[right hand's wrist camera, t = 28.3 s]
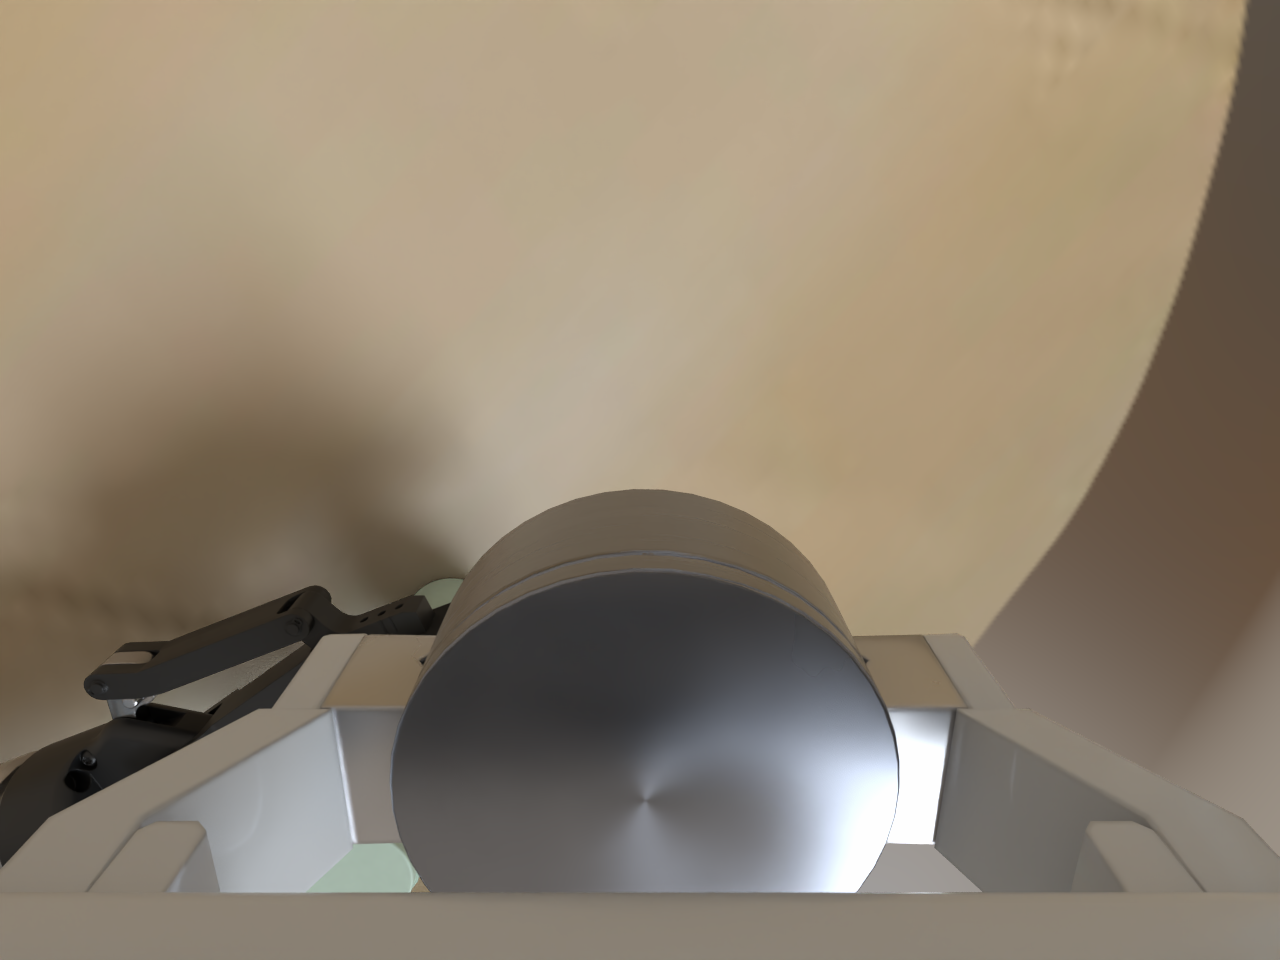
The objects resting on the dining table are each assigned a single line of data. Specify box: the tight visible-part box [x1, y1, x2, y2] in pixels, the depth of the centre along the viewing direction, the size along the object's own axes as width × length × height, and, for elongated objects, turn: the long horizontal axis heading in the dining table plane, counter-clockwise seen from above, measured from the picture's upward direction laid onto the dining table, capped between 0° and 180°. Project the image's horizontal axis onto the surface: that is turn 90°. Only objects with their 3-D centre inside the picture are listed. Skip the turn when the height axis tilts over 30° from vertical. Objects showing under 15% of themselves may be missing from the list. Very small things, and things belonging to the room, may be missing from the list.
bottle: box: [306, 578, 463, 892], centre depth 33 cm, size 5×5×16 cm
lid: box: [390, 489, 900, 892], centre depth 9 cm, size 5×5×2 cm
